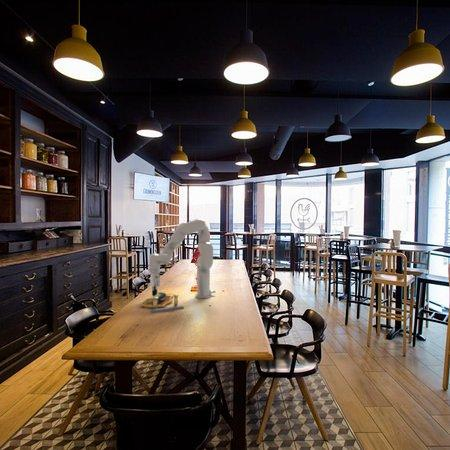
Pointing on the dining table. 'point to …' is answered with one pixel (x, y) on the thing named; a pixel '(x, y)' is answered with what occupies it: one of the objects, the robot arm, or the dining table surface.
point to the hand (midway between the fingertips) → (154, 295)
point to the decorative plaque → (158, 301)
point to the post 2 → (175, 300)
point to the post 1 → (155, 302)
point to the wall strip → (166, 309)
